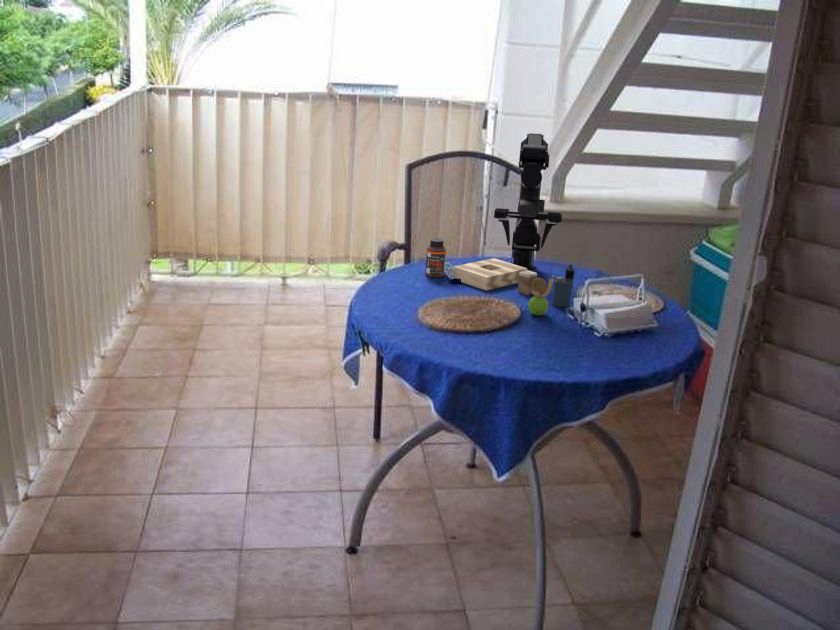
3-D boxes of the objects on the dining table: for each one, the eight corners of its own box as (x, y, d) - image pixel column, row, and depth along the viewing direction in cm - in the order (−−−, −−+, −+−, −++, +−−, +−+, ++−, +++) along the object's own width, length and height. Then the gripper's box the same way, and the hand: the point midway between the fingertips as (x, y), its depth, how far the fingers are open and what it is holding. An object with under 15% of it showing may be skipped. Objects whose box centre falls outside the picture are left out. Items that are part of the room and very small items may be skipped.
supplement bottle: (427, 278, 253) (429, 242, 250) (423, 272, 259) (424, 237, 255) (446, 277, 255) (448, 242, 251) (441, 272, 260) (443, 237, 256)
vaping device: (571, 307, 233) (576, 266, 229) (552, 306, 233) (557, 265, 229) (570, 304, 235) (574, 263, 231) (551, 303, 235) (555, 262, 231)
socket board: (493, 270, 265) (494, 258, 264) (526, 280, 256) (527, 268, 254) (452, 278, 254) (453, 266, 252) (485, 290, 244) (486, 277, 243)
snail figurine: (545, 320, 221) (550, 277, 217) (524, 315, 224) (528, 272, 220) (554, 315, 225) (558, 273, 221) (532, 310, 229) (536, 268, 225)
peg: (525, 289, 247) (527, 270, 245) (535, 293, 244) (537, 273, 242) (517, 291, 244) (519, 272, 242) (526, 295, 242) (528, 275, 240)
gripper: (495, 186, 225) (490, 243, 226) (564, 191, 222) (559, 249, 224) (497, 189, 236) (492, 244, 237) (563, 194, 233) (558, 249, 235)
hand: (525, 246), depth 233 cm, fingers open, 9 cm apart
